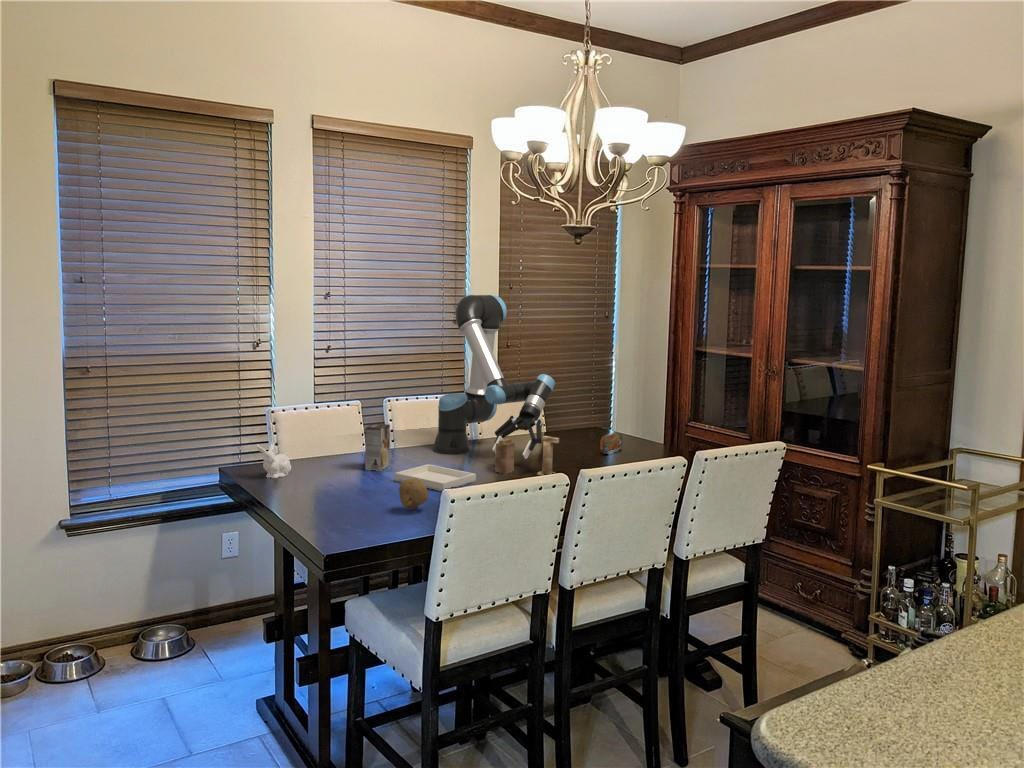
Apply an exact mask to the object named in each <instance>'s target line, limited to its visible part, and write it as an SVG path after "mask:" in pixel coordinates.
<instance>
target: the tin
mask: <svg viewBox="0 0 1024 768" xmlns="http://www.w3.org/2000/svg"><path fill="white" fill-rule="evenodd" d="M622 446H623V437H622V435H621V434H620V433H619V432H612V433H609V434H605V435H604V434H603V436H602V437H601V439H600V441H599V451H600V453H601V452H604V453H606V452H608V451H611V450H614V449H617V448H620V447H621V448H622Z"/></svg>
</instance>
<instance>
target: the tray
mask: <svg viewBox="0 0 1024 768" xmlns="http://www.w3.org/2000/svg"><path fill="white" fill-rule="evenodd" d="M411 478H417V479H419V480H421V481H422V482H423V484H424V485H425V487H426V489H427V488H430V489H429V490H431V489H434V490H433V491H436V490H437V491H436V492H441V491H442V490H443V489H445V488H451V487H459V486H462V487H465V486H464V484H466V483H470V482H475V481H476V482H477V474H476V473H473V472H469V471H463V470H459V469H453V468H449V467H443V466H439V465H434V464H430V463H429V464H428V463H427V464H424V465H420V466H416V467H412V468H407V469H405V470H400V471H396V472H394V482H396V481H398V482H397V483H401V482H403V481H404V480H406V479H411ZM476 482H475V483H476ZM459 488H460V487H459ZM441 493H442V492H441Z"/></svg>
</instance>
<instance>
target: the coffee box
mask: <svg viewBox="0 0 1024 768" xmlns="http://www.w3.org/2000/svg"><path fill="white" fill-rule="evenodd" d="M390 428H391V427H390V424H386V423H385V424H384V423H373V424H371V425H368V426H366V427H365V432H364V433H365V437H364V439H365V442H364V444H365V449H364V450H365V455H364V458H365V461H364V462H365V464H364V469H365V471H371V470H376V471H375V472H382V471H384V470H385V469H387V468H388V467H390V443H391V442H390V434H391V433H390V431H391V430H390ZM386 467H387V468H386ZM383 469H384V470H383Z"/></svg>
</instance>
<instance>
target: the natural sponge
mask: <svg viewBox="0 0 1024 768" xmlns="http://www.w3.org/2000/svg"><path fill="white" fill-rule="evenodd" d="M398 493H399V499H400V502H401V505H402V506H403V507H405V508H406V509H407V510H408V511H409V510H410V511H413V509H414V510H415V509H417V508H418V507H419V506H421V505H423V504H424V503H426V502H427V501H428V500H429V499H428V498H429V491H428V489H427V488H426V487H425V485H424V484H423V482H422V481H421V480H419V479H417V478H411V479H406V480H404V481H403V482H402V483H401V482H400V485H399V487H398Z"/></svg>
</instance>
